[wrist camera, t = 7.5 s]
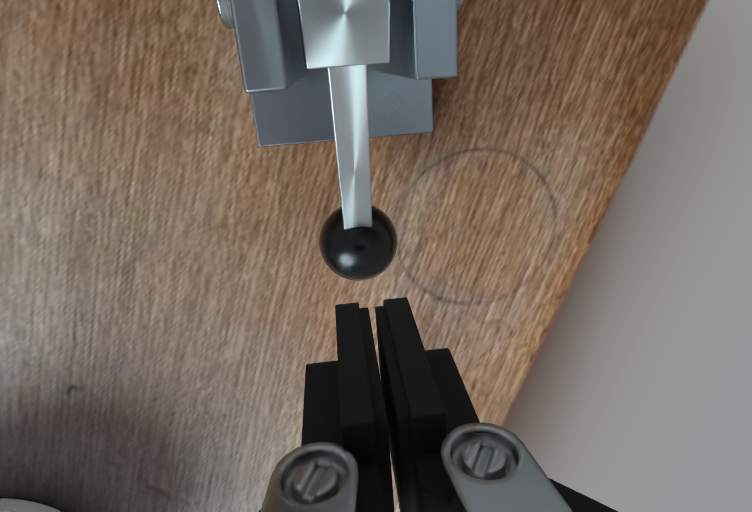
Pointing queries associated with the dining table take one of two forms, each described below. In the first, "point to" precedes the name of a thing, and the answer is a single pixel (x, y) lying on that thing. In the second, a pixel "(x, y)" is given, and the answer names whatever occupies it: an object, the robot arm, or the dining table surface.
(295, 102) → the tap bracket
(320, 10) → the tap lever
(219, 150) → the dining table surface
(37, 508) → the paper bowls
